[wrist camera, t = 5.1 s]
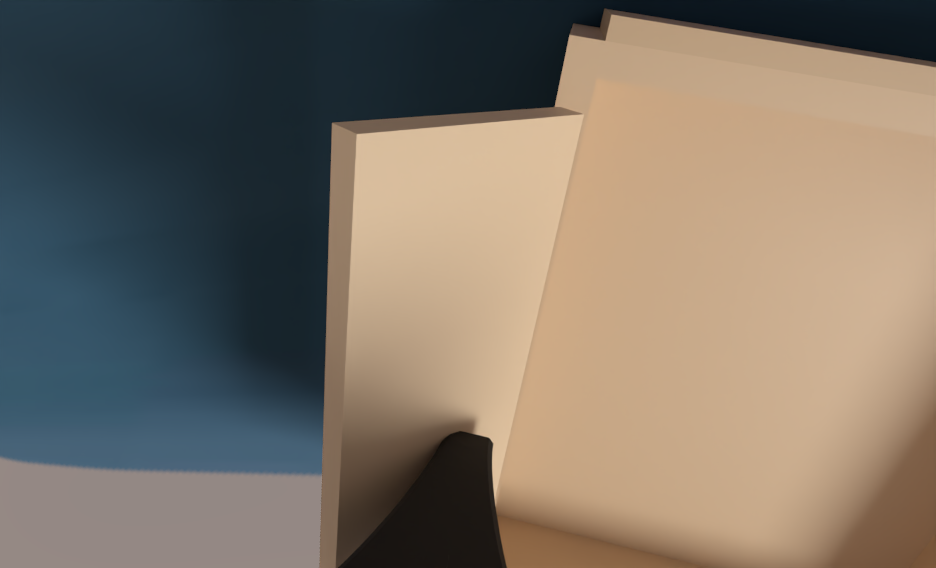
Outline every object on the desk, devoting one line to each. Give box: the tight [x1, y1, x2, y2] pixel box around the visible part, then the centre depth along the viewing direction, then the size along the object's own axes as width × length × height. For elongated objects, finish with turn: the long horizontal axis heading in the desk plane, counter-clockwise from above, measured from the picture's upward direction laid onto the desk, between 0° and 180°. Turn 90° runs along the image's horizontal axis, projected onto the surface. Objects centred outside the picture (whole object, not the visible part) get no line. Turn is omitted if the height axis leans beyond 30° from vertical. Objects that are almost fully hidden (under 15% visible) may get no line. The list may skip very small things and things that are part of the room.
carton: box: [495, 8, 936, 568], centre depth 14 cm, size 14×17×4 cm
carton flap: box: [320, 107, 584, 568], centre depth 11 cm, size 4×14×1 cm
